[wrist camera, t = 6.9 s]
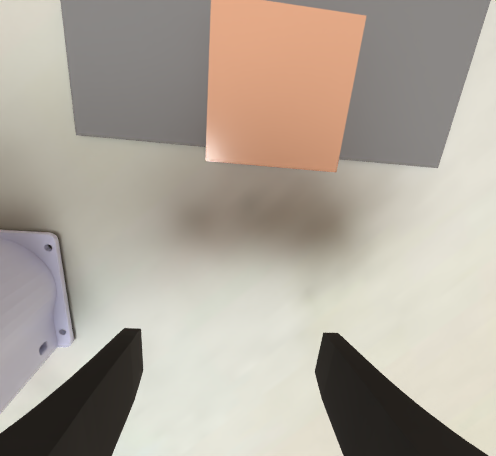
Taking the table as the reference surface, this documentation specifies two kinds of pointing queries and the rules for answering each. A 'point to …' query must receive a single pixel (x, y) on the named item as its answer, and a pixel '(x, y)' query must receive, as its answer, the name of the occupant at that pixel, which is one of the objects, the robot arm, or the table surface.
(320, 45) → the peach square slab
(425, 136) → the rubber mat
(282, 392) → the table surface
